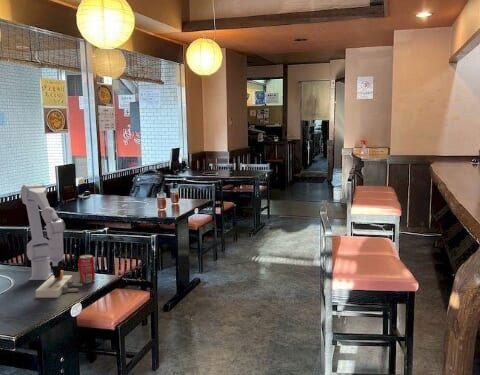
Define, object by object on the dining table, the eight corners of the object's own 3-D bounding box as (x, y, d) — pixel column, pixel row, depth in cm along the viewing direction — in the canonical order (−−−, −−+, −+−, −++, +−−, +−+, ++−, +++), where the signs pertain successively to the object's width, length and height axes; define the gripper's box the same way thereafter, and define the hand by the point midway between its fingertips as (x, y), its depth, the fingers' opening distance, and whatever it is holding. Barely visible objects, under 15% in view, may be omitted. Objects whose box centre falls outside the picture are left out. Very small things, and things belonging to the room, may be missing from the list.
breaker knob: (56, 277, 206) (56, 270, 205) (63, 277, 206) (63, 270, 206) (54, 278, 204) (54, 271, 203) (61, 278, 204) (61, 271, 203)
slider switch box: (52, 281, 209) (52, 275, 209) (72, 281, 210) (72, 275, 210) (35, 297, 190) (35, 290, 189) (58, 297, 190) (57, 290, 190)
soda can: (87, 278, 215) (86, 253, 214) (98, 280, 212) (97, 255, 210) (75, 282, 209) (74, 256, 208) (86, 285, 206) (85, 259, 204)
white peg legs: (69, 285, 205) (69, 280, 204) (82, 285, 205) (82, 280, 205) (62, 292, 196) (62, 287, 195) (77, 292, 196) (76, 287, 196)
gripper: (48, 244, 207) (49, 273, 208) (44, 252, 193) (45, 283, 194) (64, 243, 209) (65, 272, 210) (62, 251, 195) (63, 282, 196)
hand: (57, 277), depth 202 cm, fingers closed
